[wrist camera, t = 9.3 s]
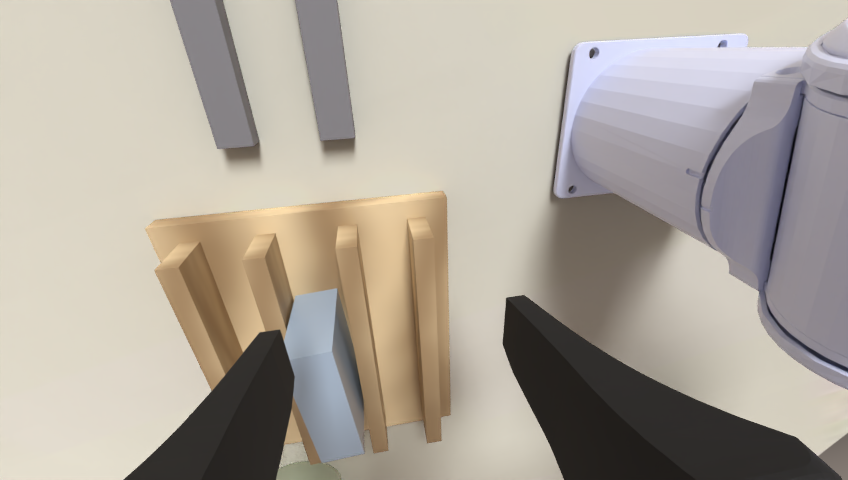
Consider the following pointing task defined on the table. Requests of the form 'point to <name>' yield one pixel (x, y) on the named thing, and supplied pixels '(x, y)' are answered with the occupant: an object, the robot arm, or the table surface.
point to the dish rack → (318, 271)
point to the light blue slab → (326, 375)
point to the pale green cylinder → (308, 472)
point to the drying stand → (222, 77)
